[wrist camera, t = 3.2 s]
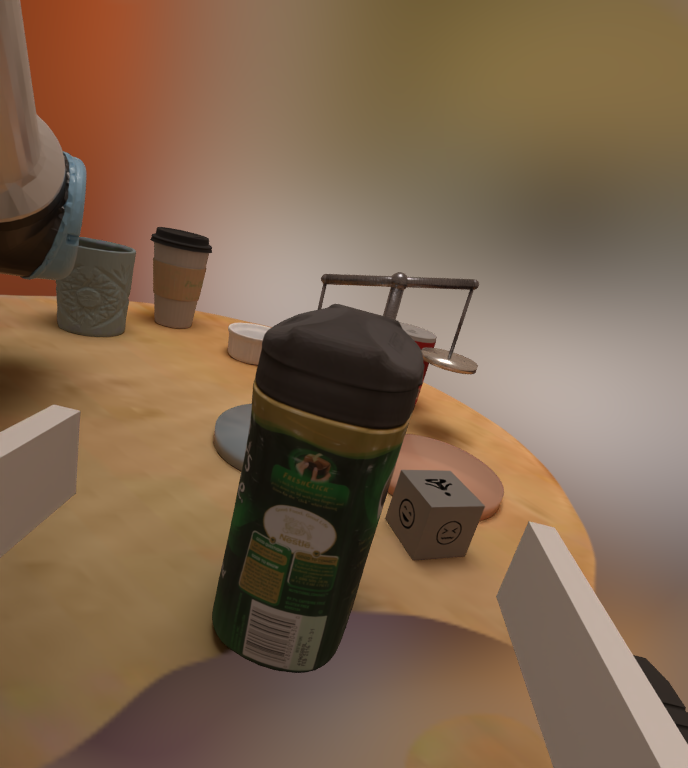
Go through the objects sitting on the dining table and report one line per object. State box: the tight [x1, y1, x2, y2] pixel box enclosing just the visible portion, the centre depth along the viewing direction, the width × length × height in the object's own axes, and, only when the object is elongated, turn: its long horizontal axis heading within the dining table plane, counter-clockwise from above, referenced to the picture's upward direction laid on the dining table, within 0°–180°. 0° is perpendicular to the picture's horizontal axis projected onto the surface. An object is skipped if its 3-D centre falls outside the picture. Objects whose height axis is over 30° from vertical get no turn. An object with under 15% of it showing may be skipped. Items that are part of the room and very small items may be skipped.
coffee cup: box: [151, 227, 212, 328], centre depth 75 cm, size 9×9×15 cm
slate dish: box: [213, 404, 252, 471], centre depth 47 cm, size 14×14×2 cm
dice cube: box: [385, 470, 485, 560], centre depth 37 cm, size 5×5×5 cm
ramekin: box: [228, 323, 270, 365], centre depth 71 cm, size 9×9×4 cm
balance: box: [318, 272, 479, 374], centre depth 57 cm, size 24×7×20 cm, turn 87°
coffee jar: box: [212, 304, 425, 673], centre depth 25 cm, size 10×8×19 cm
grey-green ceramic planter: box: [56, 237, 136, 337], centre depth 64 cm, size 10×10×12 cm
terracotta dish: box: [388, 434, 504, 521], centre depth 48 cm, size 14×14×2 cm
